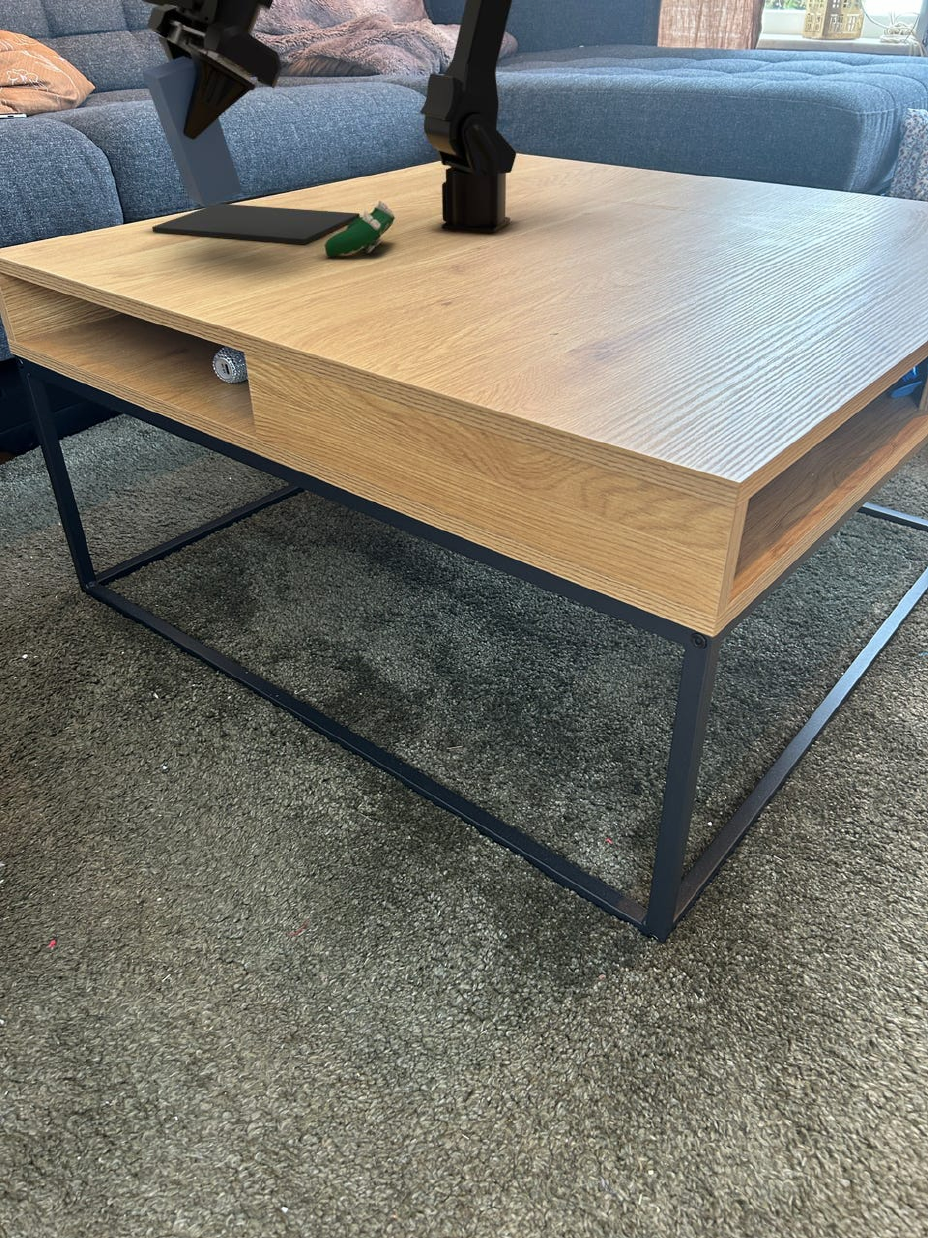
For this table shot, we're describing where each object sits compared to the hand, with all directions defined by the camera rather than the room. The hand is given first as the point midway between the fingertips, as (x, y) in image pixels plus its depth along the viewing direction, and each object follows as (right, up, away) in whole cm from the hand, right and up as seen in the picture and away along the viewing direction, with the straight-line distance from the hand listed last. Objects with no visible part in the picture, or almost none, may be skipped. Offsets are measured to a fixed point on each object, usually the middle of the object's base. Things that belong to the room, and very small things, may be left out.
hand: (179, 132), depth 94 cm
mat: (+3, -1, +21) cm, 21 cm away
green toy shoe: (+17, -8, +10) cm, 21 cm away
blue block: (+2, -4, +5) cm, 7 cm away
